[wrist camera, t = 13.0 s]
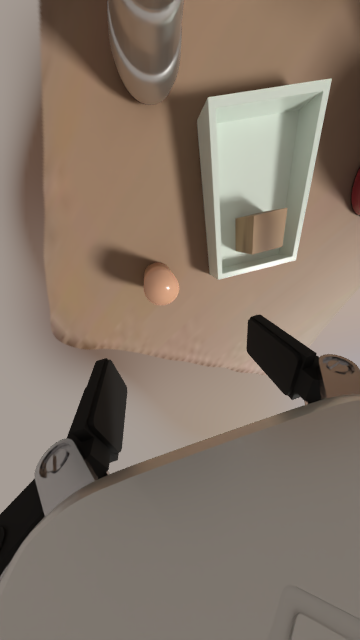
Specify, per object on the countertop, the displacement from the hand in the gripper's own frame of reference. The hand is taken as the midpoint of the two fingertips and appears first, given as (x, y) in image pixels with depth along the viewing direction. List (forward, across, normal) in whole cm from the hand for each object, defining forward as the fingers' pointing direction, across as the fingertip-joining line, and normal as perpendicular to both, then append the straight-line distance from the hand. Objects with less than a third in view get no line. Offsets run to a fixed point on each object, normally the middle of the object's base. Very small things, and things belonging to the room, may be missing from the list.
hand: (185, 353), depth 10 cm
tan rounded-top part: (+21, 0, 0) cm, 21 cm away
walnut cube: (+20, -17, -4) cm, 26 cm away
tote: (+20, -17, -8) cm, 28 cm away
